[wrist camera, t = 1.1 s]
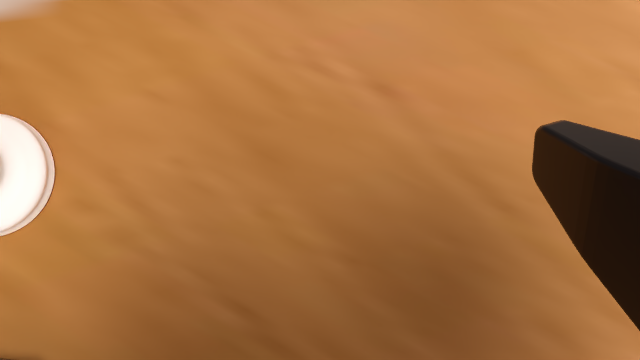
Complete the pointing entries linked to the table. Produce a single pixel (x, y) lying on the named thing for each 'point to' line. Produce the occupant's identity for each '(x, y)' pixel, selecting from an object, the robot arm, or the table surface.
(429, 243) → the table surface
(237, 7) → the table surface
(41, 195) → the chess piece
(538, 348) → the table surface
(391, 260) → the table surface
